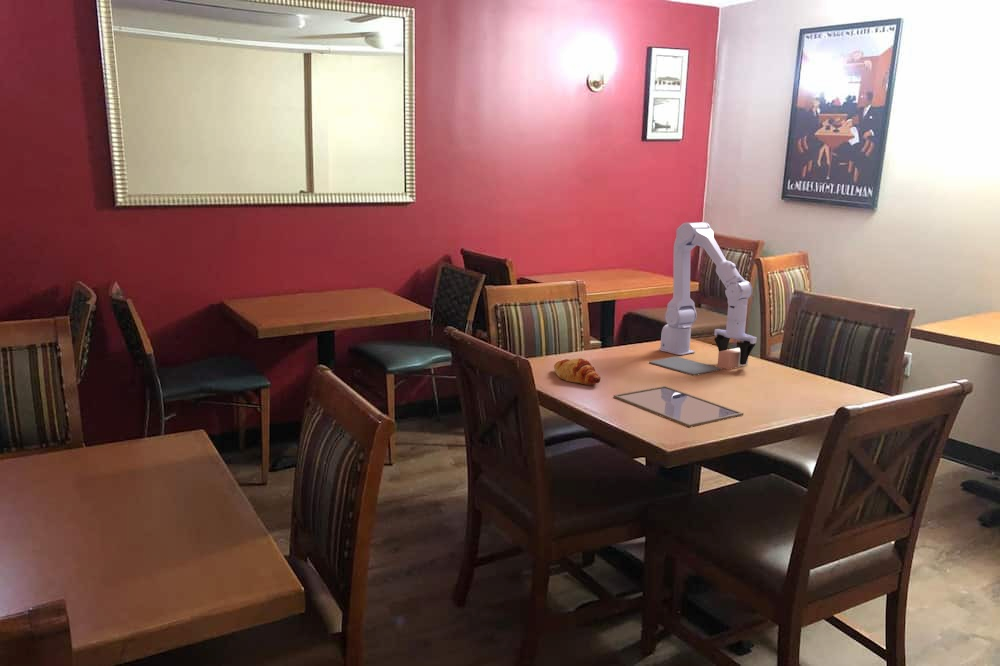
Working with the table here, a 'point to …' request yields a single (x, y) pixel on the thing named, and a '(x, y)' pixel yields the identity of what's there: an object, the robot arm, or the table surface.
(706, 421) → the picture frame
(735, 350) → the two-tone block
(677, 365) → the mat
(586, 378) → the croissant
